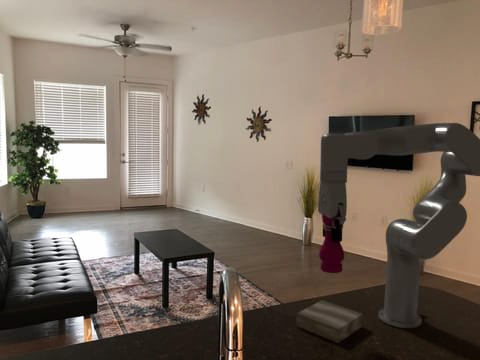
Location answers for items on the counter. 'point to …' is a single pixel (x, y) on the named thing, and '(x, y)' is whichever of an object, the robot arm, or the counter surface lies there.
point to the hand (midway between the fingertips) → (332, 238)
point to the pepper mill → (330, 250)
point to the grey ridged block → (329, 320)
